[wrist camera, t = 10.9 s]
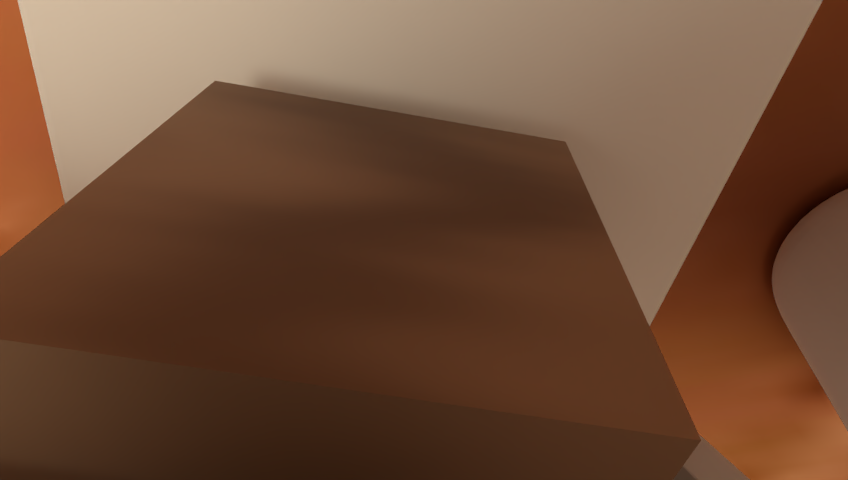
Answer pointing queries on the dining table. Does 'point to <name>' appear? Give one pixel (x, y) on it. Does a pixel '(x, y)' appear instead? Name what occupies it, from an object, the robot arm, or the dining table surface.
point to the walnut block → (330, 310)
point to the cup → (818, 294)
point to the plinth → (450, 85)
